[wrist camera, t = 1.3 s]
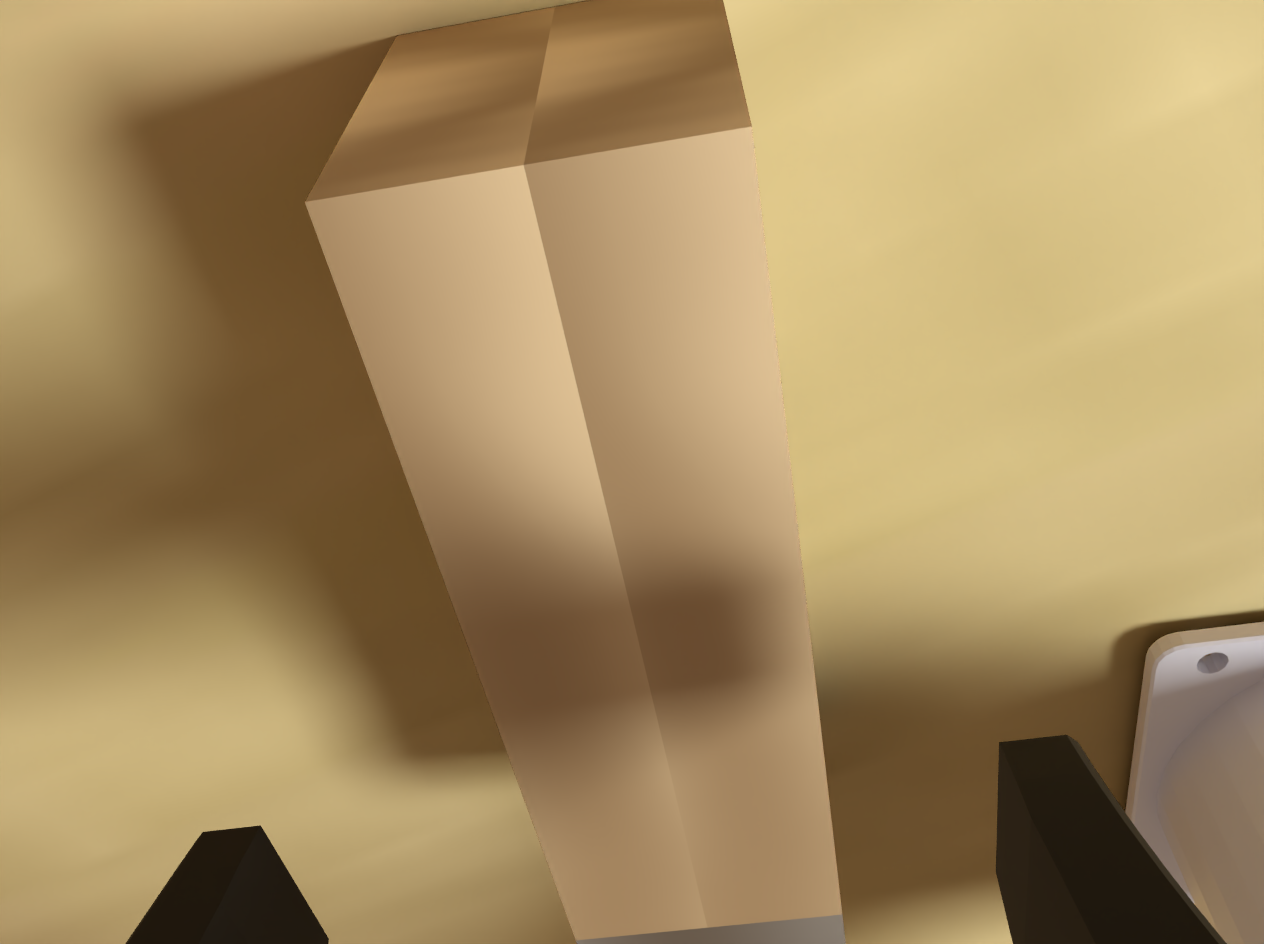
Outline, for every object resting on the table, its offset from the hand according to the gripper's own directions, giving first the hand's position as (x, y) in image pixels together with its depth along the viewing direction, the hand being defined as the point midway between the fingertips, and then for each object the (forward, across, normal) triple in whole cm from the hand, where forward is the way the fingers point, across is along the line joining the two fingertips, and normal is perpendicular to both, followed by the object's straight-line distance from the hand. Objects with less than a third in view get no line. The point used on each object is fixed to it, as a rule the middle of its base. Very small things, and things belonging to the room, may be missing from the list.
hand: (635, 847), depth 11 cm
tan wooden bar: (+8, 0, 0) cm, 8 cm away
